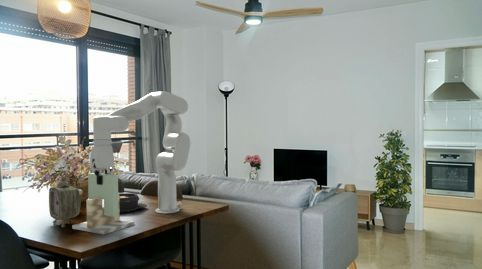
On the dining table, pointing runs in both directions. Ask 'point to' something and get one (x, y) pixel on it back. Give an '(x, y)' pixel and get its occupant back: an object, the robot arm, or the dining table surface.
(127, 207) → the casserole
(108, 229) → the birch slotted base
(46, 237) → the dining table surface
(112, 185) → the sage slotted plate
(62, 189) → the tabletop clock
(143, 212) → the dining table surface
